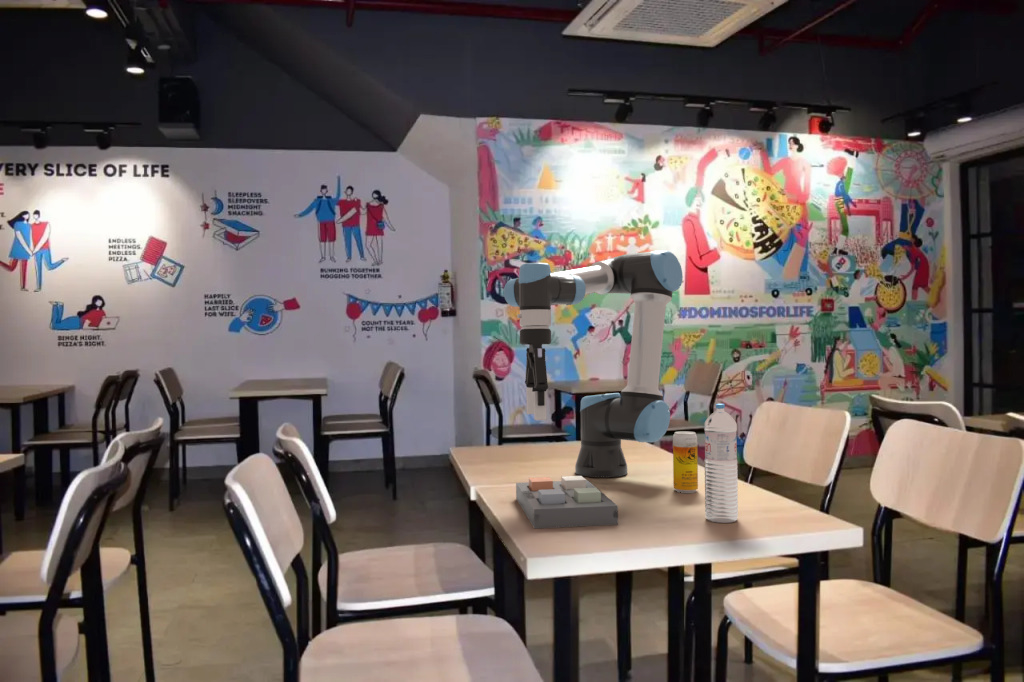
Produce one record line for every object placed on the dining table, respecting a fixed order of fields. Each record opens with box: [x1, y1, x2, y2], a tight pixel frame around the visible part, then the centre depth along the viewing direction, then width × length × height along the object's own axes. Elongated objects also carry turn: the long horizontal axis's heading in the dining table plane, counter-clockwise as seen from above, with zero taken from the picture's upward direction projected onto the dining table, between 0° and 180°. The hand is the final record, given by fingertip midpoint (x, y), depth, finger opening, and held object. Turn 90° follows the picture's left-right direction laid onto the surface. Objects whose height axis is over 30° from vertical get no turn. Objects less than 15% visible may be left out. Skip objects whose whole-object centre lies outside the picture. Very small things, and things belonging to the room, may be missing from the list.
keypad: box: [515, 479, 619, 529], centre depth 166 cm, size 18×28×4 cm, turn 7°
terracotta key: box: [528, 476, 553, 491], centre depth 172 cm, size 5×5×3 cm
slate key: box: [538, 489, 565, 505], centre depth 158 cm, size 5×5×3 cm
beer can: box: [672, 430, 699, 494], centre depth 185 cm, size 6×6×15 cm
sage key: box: [574, 487, 602, 503], centre depth 159 cm, size 5×5×3 cm
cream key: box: [560, 475, 587, 490], centre depth 173 cm, size 5×5×3 cm
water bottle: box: [703, 403, 739, 524], centre depth 156 cm, size 7×7×25 cm
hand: (536, 416), depth 173 cm, fingers open, 13 cm apart
